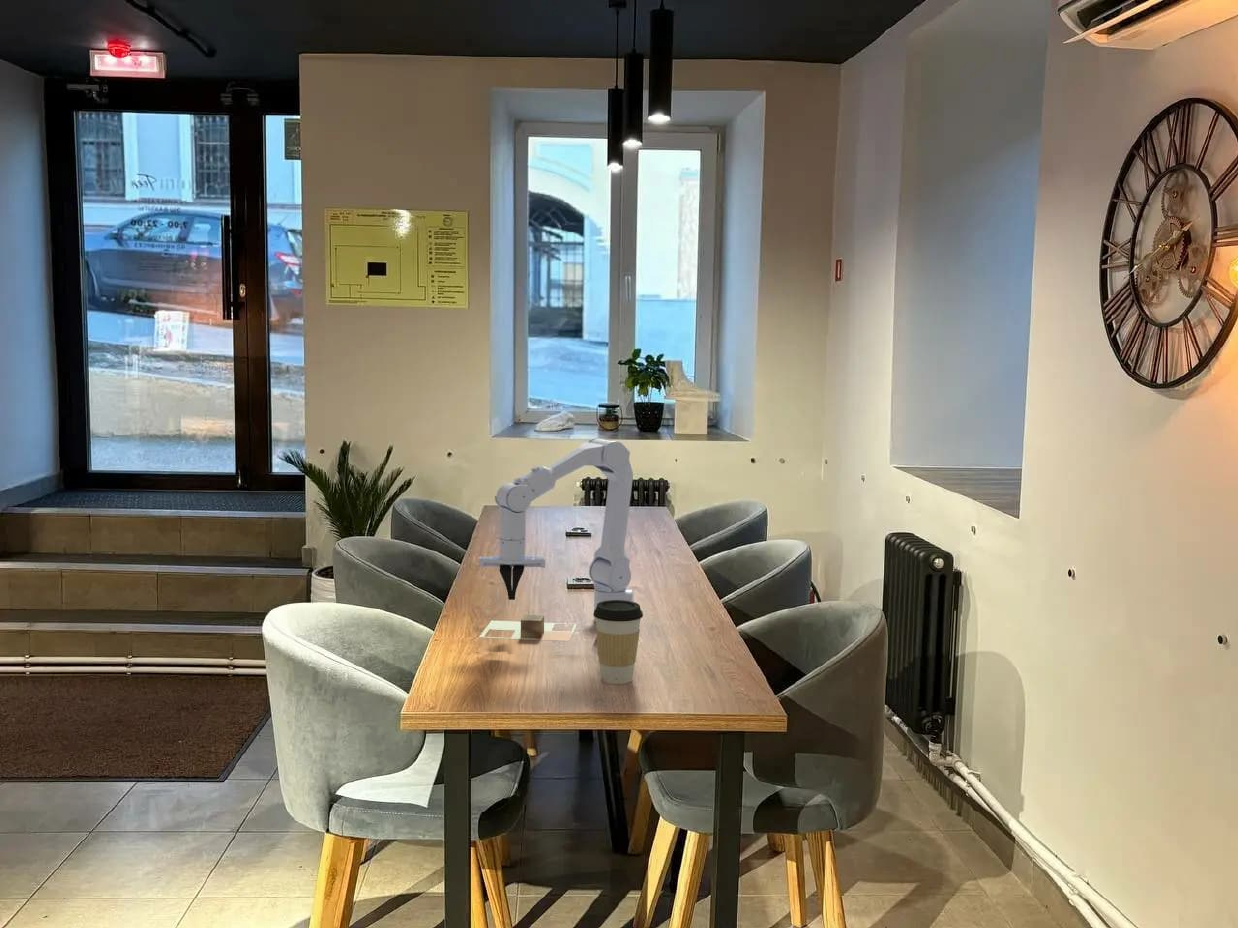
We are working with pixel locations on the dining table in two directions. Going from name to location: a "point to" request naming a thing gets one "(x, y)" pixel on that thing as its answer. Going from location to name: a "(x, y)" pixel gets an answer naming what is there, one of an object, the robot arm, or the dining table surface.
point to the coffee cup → (617, 639)
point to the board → (517, 635)
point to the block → (532, 626)
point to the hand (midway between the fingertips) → (511, 598)
